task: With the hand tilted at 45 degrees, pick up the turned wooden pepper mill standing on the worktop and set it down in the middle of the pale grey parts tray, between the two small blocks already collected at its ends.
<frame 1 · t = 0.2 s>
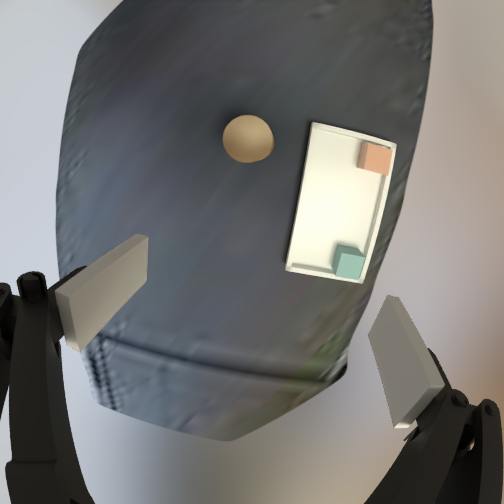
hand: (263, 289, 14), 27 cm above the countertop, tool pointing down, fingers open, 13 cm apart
turned wooden pepper mill: (256, 142, 37), on the countertop
parts tray: (339, 204, 38), on the countertop
teal block: (345, 257, 40), point 1 cm above the countertop, touching parts tray
terracotta block: (370, 158, 35), point 1 cm above the countertop, touching parts tray
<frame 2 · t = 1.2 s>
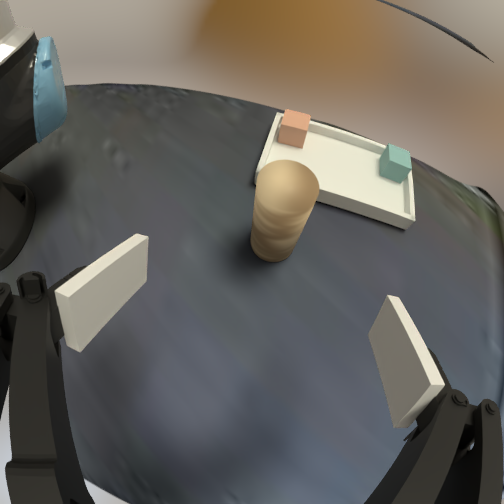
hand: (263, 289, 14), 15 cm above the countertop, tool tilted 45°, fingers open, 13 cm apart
turned wooden pepper mill: (272, 241, 32), on the countertop
parts tray: (339, 171, 36), on the countertop
teal block: (390, 170, 36), point 1 cm above the countertop, touching parts tray
terracotta block: (292, 137, 37), point 1 cm above the countertop, touching parts tray
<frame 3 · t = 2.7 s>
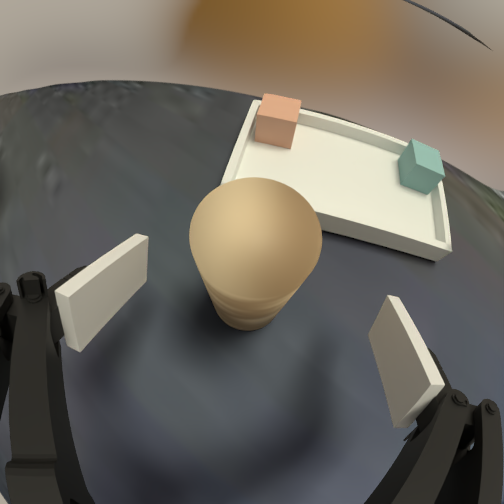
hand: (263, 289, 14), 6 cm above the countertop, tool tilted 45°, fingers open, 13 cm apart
turned wooden pepper mill: (247, 297, 21), on the countertop
parts tray: (345, 180, 25), on the countertop
teal block: (412, 176, 25), point 1 cm above the countertop, touching parts tray
terracotta block: (275, 133, 26), point 1 cm above the countertop, touching parts tray
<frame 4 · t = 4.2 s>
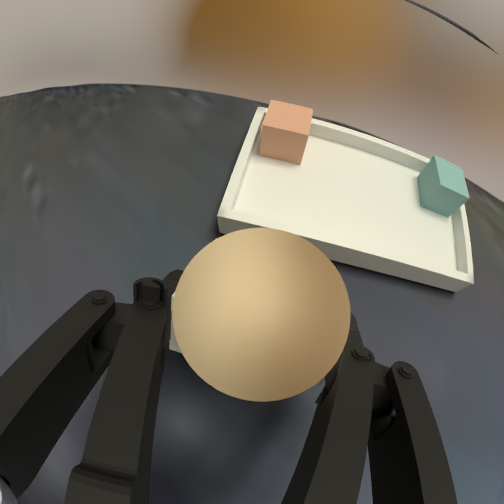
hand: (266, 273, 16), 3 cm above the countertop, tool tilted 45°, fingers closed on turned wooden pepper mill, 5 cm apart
turned wooden pepper mill: (248, 341, 18), on the countertop, touching gripper
parts tray: (360, 201, 22), on the countertop
teal block: (432, 196, 22), point 1 cm above the countertop, touching parts tray
terracotta block: (283, 146, 23), point 1 cm above the countertop, touching parts tray
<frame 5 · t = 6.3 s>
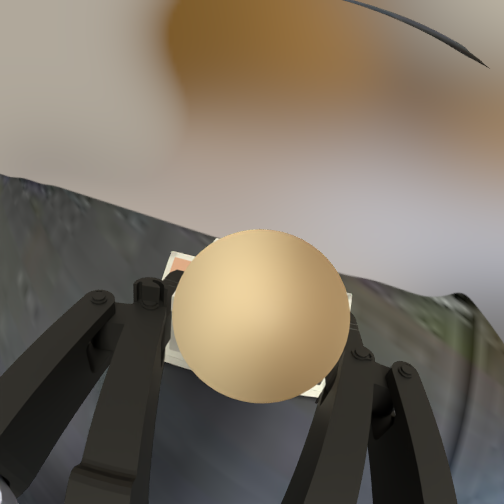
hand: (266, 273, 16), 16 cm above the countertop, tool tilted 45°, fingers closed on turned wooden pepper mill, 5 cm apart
turned wooden pepper mill: (248, 341, 18), point 13 cm above the countertop, touching gripper
parts tray: (248, 329, 31), on the countertop
terracotta block: (190, 285, 31), point 1 cm above the countertop, touching parts tray
when the fingers open (6 cm above the countertop, at t = 8.5 s): turned wooden pepper mill drops 1 cm, resting on parts tray.
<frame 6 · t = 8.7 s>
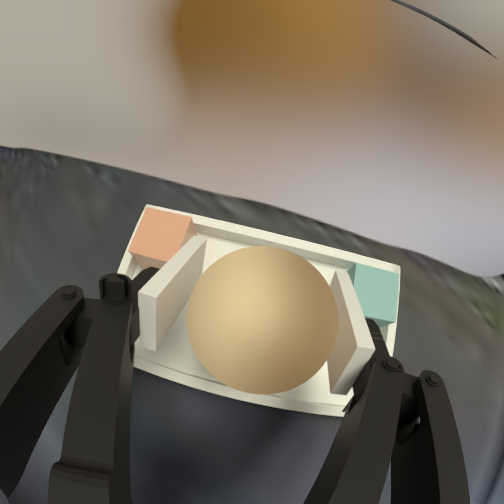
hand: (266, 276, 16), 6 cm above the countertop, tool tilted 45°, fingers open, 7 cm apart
turned wooden pepper mill: (246, 343, 19), point 1 cm above the countertop, touching parts tray
parts tray: (254, 318, 21), on the countertop
teal block: (356, 303, 20), point 1 cm above the countertop, touching parts tray
terracotta block: (170, 253, 21), point 1 cm above the countertop, touching parts tray
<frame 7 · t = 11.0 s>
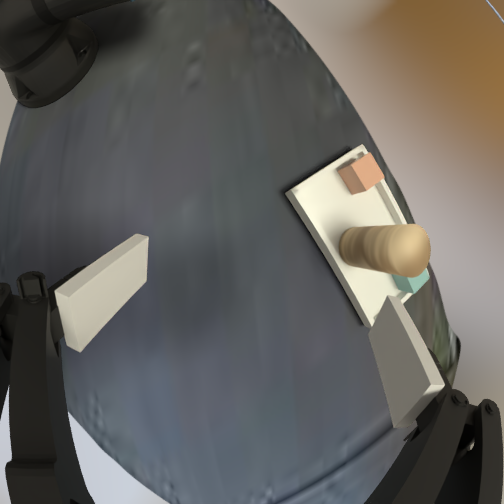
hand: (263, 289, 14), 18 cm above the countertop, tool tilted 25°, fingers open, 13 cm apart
turned wooden pepper mill: (355, 246, 34), point 1 cm above the countertop, touching parts tray
parts tray: (363, 238, 35), on the countertop
teal block: (401, 272, 35), point 1 cm above the countertop, touching parts tray
terracotta block: (354, 176, 33), point 1 cm above the countertop, touching parts tray
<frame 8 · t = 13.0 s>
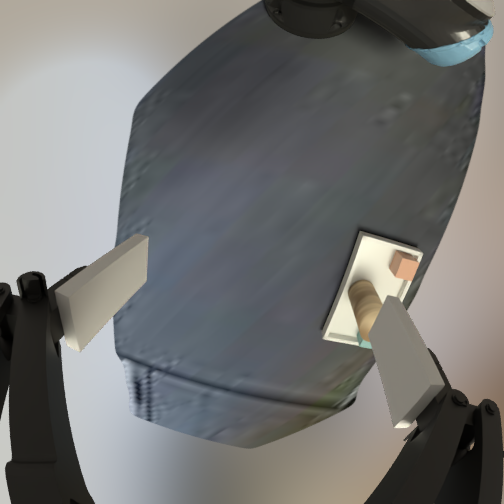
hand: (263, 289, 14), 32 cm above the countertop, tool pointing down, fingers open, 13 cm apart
turned wooden pepper mill: (361, 292, 47), point 1 cm above the countertop, touching parts tray
parts tray: (369, 292, 48), on the countertop
teal block: (367, 329, 49), point 1 cm above the countertop, touching parts tray
terracotta block: (400, 261, 44), point 1 cm above the countertop, touching parts tray
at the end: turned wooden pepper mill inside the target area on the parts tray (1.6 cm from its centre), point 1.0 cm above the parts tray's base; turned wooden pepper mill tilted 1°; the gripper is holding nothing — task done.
